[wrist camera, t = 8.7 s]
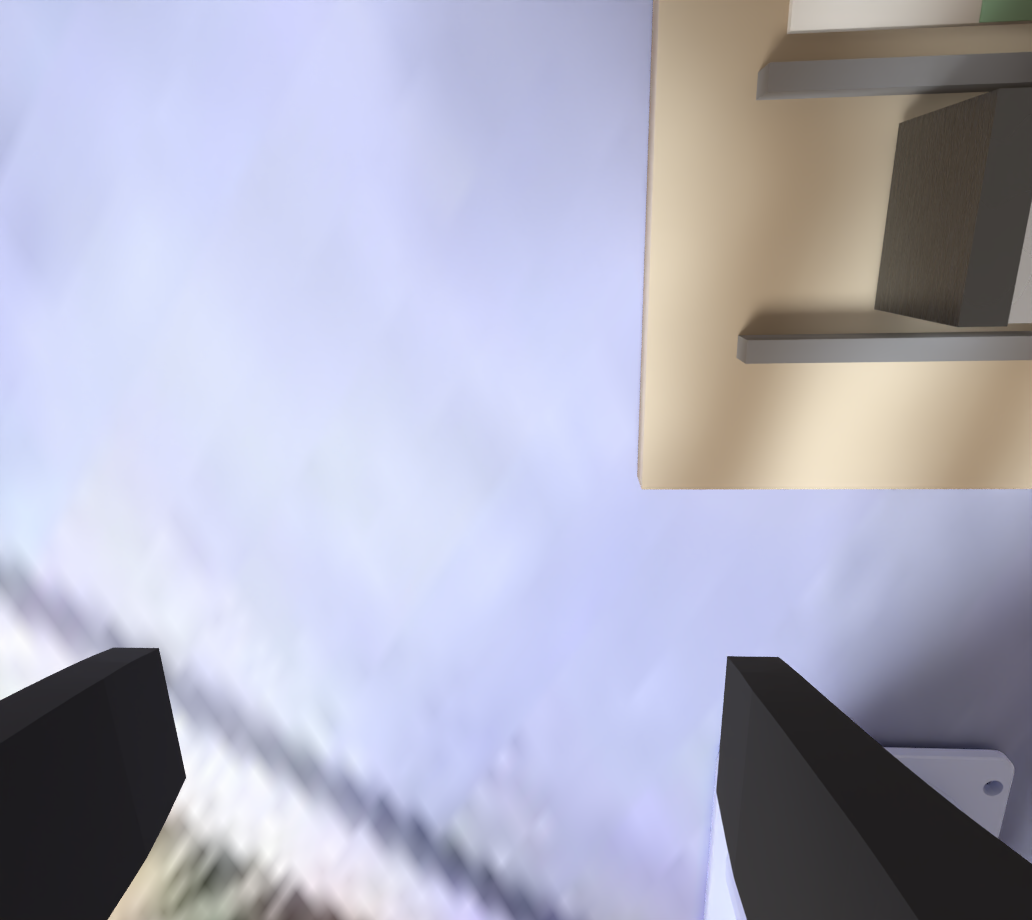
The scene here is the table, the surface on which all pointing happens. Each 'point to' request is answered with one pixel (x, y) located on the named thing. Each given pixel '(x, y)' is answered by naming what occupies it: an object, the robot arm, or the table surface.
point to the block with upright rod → (962, 214)
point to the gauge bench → (813, 252)
